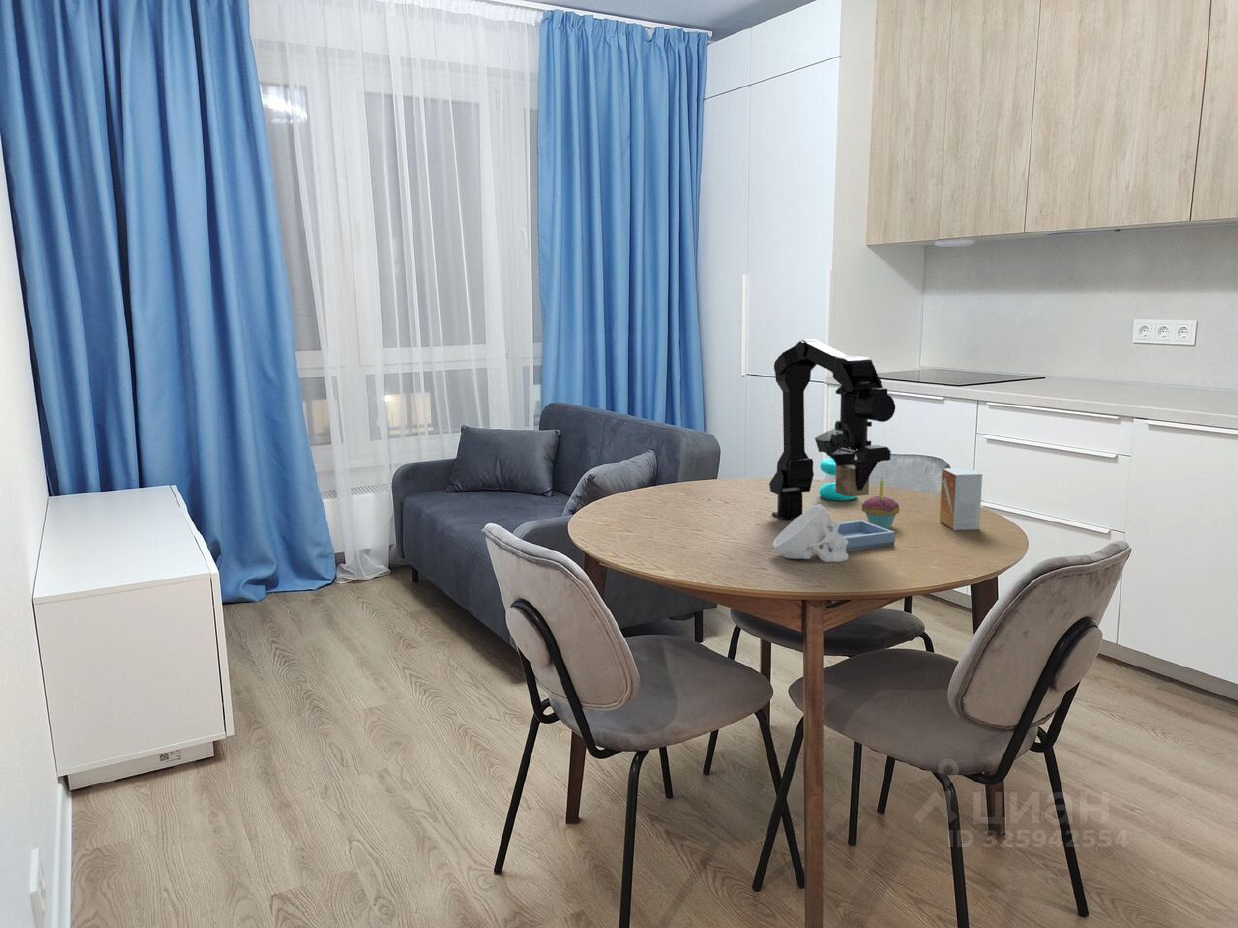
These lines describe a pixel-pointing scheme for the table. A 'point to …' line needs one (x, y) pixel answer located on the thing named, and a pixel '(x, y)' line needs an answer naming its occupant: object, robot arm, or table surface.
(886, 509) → the cupcake
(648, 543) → the table surface
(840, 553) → the skull bowl
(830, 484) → the donuts
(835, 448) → the robot arm
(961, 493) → the small box
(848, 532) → the tray
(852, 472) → the block
